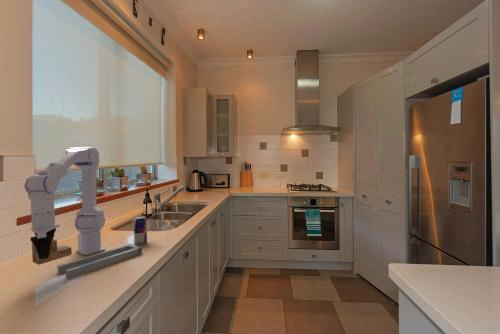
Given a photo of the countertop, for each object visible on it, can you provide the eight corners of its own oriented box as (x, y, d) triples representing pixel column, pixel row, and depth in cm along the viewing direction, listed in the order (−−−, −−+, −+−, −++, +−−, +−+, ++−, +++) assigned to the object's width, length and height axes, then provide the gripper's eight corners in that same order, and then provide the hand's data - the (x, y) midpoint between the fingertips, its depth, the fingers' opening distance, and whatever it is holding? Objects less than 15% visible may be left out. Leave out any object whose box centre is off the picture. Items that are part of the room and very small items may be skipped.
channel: (57, 272, 87) (57, 265, 87) (130, 249, 108) (130, 243, 108) (67, 279, 82) (67, 271, 82) (141, 253, 103) (141, 247, 103)
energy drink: (142, 245, 113) (141, 218, 112) (131, 245, 114) (130, 218, 114) (149, 241, 118) (148, 216, 118) (139, 241, 119) (138, 215, 119)
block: (32, 262, 80) (31, 243, 80) (65, 252, 87) (64, 235, 87) (38, 264, 77) (37, 245, 77) (71, 254, 85) (70, 237, 85)
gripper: (57, 214, 77) (59, 259, 77) (60, 207, 88) (61, 246, 89) (26, 218, 73) (29, 265, 73) (33, 210, 84) (35, 250, 85)
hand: (45, 255), depth 81 cm, fingers closed on block, 6 cm apart
